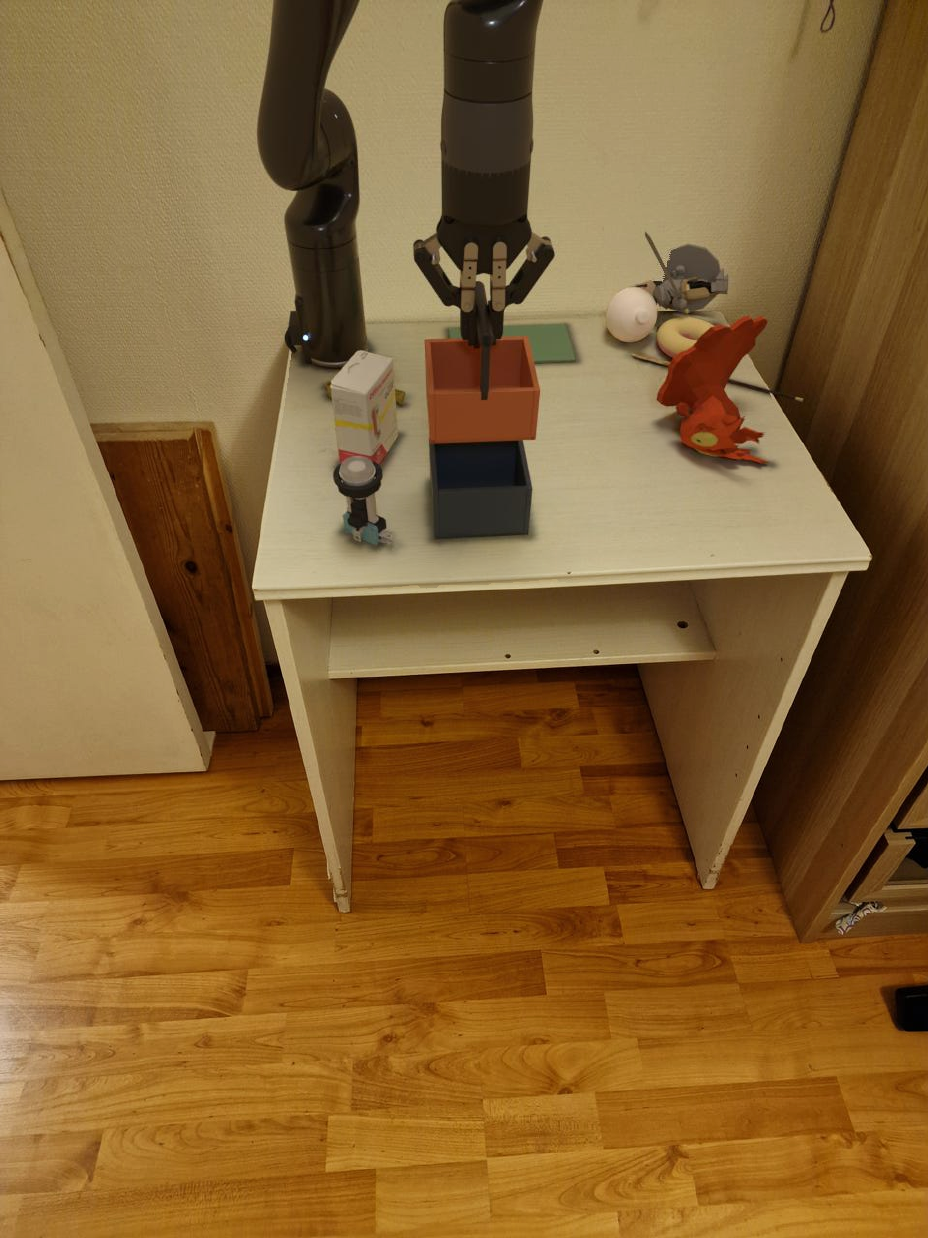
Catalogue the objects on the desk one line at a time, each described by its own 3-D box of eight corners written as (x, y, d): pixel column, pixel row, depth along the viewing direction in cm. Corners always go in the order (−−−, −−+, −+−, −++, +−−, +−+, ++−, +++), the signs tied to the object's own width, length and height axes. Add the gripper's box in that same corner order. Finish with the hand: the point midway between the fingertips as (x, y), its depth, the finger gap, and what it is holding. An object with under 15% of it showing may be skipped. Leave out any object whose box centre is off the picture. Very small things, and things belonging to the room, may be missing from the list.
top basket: (430, 443, 83) (426, 335, 73) (426, 388, 89) (422, 281, 80) (535, 439, 83) (545, 331, 74) (524, 384, 90) (532, 279, 80)
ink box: (374, 475, 100) (366, 393, 91) (338, 466, 101) (326, 385, 92) (400, 435, 106) (395, 355, 97) (366, 428, 107) (357, 347, 98)
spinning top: (618, 347, 128) (649, 355, 117) (581, 321, 125) (608, 326, 114) (645, 302, 126) (679, 306, 115) (608, 275, 123) (639, 276, 112)
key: (408, 387, 110) (393, 407, 107) (409, 396, 111) (394, 416, 108) (332, 371, 113) (315, 390, 110) (333, 379, 114) (316, 398, 111)
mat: (453, 366, 116) (453, 363, 116) (448, 330, 123) (448, 327, 123) (575, 361, 117) (575, 359, 117) (564, 326, 124) (565, 323, 124)
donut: (687, 385, 117) (732, 358, 120) (695, 361, 113) (742, 333, 116) (641, 345, 121) (686, 320, 124) (647, 321, 117) (693, 295, 119)
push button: (406, 534, 94) (401, 466, 86) (378, 561, 91) (371, 493, 83) (361, 513, 96) (352, 444, 88) (332, 538, 93) (321, 470, 85)
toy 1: (712, 176, 108) (605, 201, 115) (706, 243, 105) (596, 265, 112) (734, 276, 125) (640, 293, 132) (729, 337, 122) (633, 351, 129)
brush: (630, 353, 118) (802, 399, 110) (633, 349, 118) (804, 396, 111) (629, 357, 118) (801, 404, 111) (632, 354, 119) (802, 400, 112)
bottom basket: (434, 539, 93) (432, 493, 88) (430, 483, 99) (428, 437, 94) (528, 534, 94) (532, 488, 88) (518, 479, 100) (521, 433, 95)
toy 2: (640, 380, 100) (712, 464, 94) (761, 288, 97) (843, 369, 90) (658, 425, 111) (723, 503, 105) (767, 344, 108) (841, 419, 102)
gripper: (561, 133, 69) (543, 319, 82) (403, 135, 68) (411, 323, 82) (575, 167, 64) (554, 360, 78) (405, 170, 64) (413, 364, 77)
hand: (480, 340), depth 80 cm, fingers closed on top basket, 1 cm apart
